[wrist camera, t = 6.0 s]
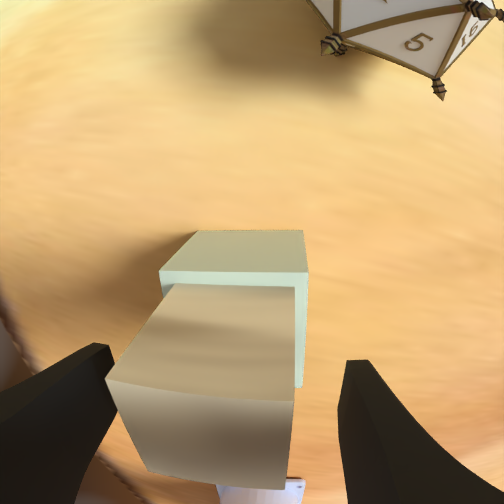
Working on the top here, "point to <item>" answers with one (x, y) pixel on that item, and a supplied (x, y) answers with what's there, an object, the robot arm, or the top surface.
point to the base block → (246, 268)
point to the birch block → (212, 385)
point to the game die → (406, 30)
